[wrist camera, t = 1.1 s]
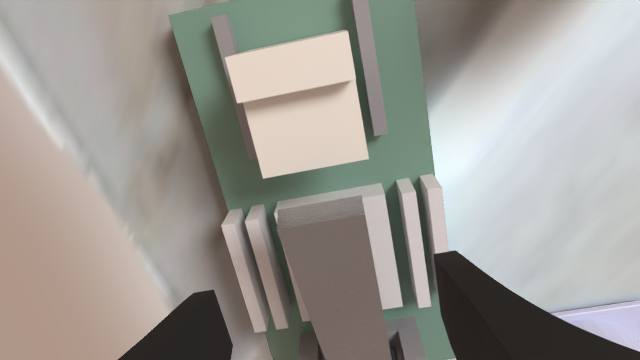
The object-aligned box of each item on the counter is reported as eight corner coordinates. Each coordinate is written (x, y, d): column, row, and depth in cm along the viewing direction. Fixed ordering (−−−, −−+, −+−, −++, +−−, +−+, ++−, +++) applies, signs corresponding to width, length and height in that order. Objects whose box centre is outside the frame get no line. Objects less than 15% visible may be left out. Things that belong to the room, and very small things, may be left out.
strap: (397, 357, 22) (403, 392, 21) (330, 367, 22) (332, 401, 21) (368, 186, 15) (376, 221, 13) (270, 203, 15) (267, 239, 14)
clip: (361, 134, 19) (371, 165, 14) (275, 151, 19) (259, 186, 15) (343, 30, 17) (348, 30, 13) (250, 50, 18) (224, 57, 13)
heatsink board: (448, 338, 24) (473, 404, 20) (283, 362, 25) (273, 429, 21) (403, -35, 18) (426, -54, 14) (180, 16, 19) (136, 13, 14)
